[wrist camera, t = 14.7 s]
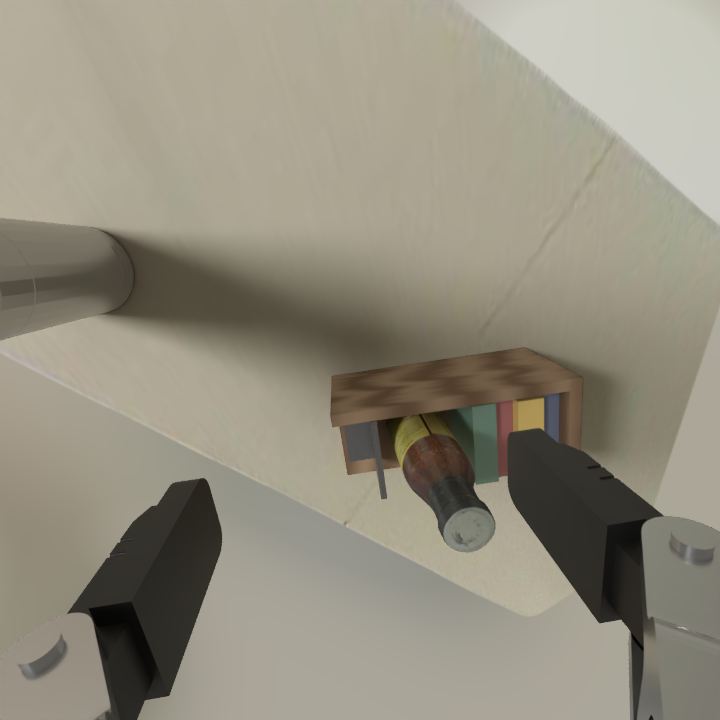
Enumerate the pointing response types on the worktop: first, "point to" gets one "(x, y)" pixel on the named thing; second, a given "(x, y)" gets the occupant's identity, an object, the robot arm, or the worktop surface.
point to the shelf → (451, 394)
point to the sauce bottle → (442, 479)
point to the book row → (500, 430)
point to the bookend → (366, 447)
